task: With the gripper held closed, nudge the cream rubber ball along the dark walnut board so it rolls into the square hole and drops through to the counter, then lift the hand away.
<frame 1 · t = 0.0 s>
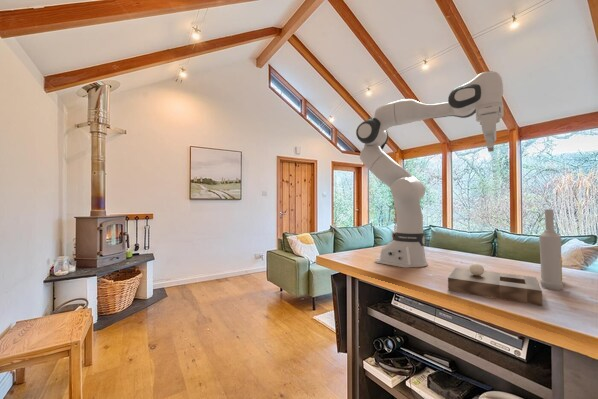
hand: (490, 149, 104), 48 cm above the table, fingers open, 8 cm apart
board: (492, 290, 84), on the table
supplement bottle: (551, 281, 94), on the table
ball: (476, 269, 87), point 6 cm above the table, touching board
bottle: (551, 288, 86), on the table
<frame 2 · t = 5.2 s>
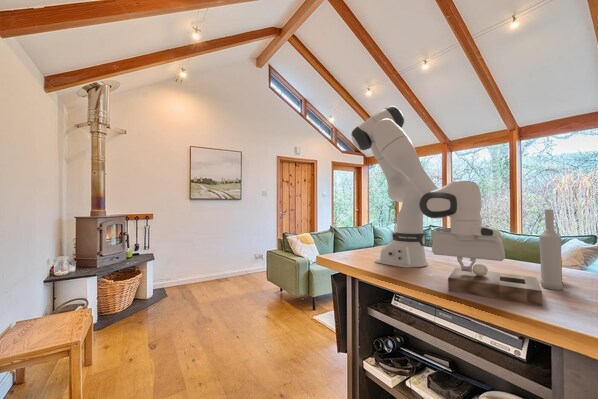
hand: (466, 271, 88), 5 cm above the table, fingers closed
ball: (480, 269, 86), point 6 cm above the table, tilted 25°, touching board
everything else where it was.
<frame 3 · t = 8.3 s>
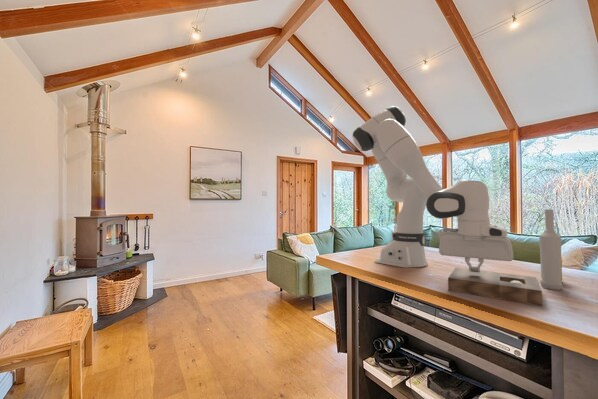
hand: (474, 271, 87), 5 cm above the table, fingers closed
ball: (516, 287, 80), point 2 cm above the table, tilted 42°
everything else where it was.
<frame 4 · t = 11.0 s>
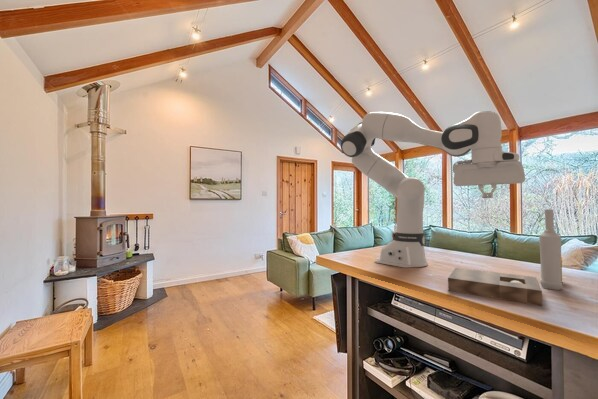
hand: (487, 198, 93), 29 cm above the table, fingers closed
nothing on the table moved.
at the end: ball 0.9 cm from the target spot on the board, point 2.0 cm above the board's base; ball moved 10.7 cm from its start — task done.
